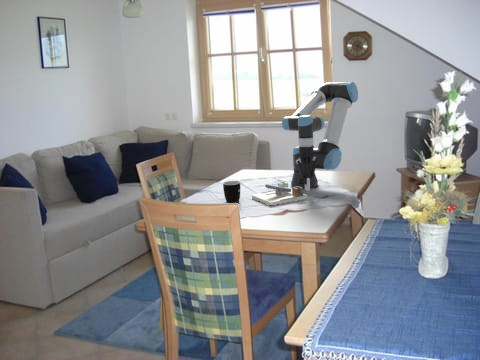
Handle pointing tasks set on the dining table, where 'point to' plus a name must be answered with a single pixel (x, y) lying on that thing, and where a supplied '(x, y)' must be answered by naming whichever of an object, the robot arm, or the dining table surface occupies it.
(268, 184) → the rocker
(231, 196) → the mug
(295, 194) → the slider walnut
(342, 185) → the dining table surface
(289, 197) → the console
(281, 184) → the slider sage
